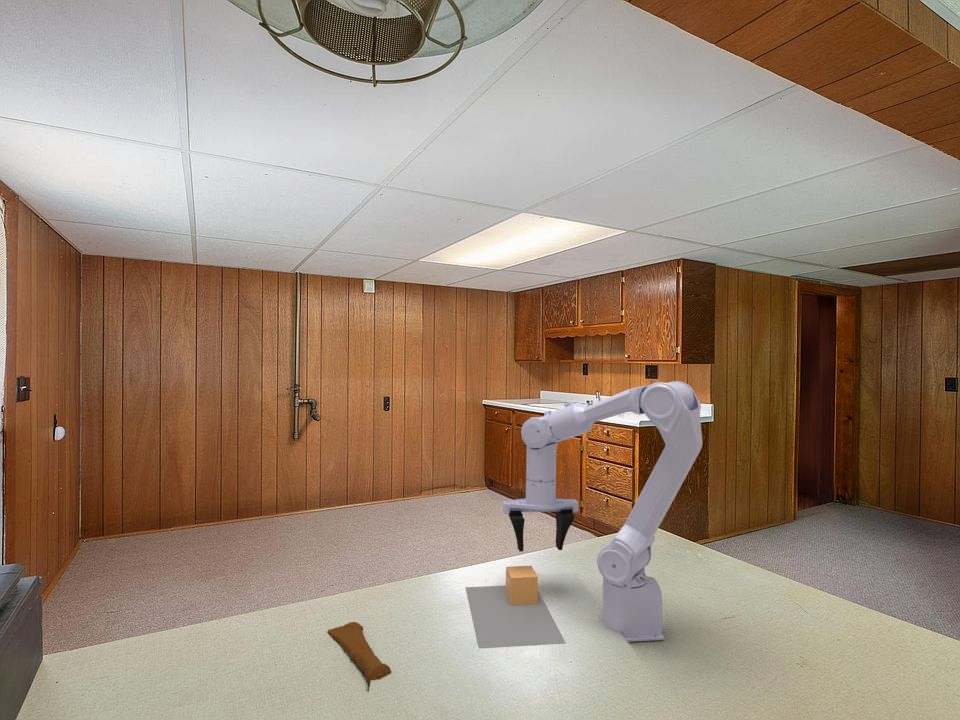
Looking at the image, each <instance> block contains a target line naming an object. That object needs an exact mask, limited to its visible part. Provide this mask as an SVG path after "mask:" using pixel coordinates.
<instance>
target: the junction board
mask: <svg viewBox="0 0 960 720" xmlns="http://www.w3.org/2000/svg"><path fill="white" fill-rule="evenodd" d="M539 591H540V590H538V599H537V604H525V605H510V602H509V600H508V597H507V595H506V585H489V586H486V585H485V586H465V592H466V596H467V597H466V598H467V601H468V605H469V610H470V615H471V619H472V624H473V629H474V632H475V638H476V642H477V647H478V649H493V648H509V647H510V648H511V647H527V646H530V647H531V646H541V645H560V644H567V643H566V641H565V639H564V637H563V635H562V633H561V631H560V629H559V627H558V625H557V623H556V622H555V620H554V618H553V616H552V614H551V612H550V610H549V608H548V606H547V604H546V603H545V601H544V599H543V596H542V595H541V593H540V592H539Z"/></svg>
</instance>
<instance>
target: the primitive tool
mask: <svg viewBox="0 0 960 720" xmlns="http://www.w3.org/2000/svg"><path fill="white" fill-rule="evenodd" d="M363 631H364V626H362V625H361V624H360V623H359V622H356V621H350V622H348V623H345V624H344V625H342V626H341V625H340V626H337V627H334V628H331V629H327V634H328V635H329V636H330V638H331V639H333V640H334V642H335V643H337V644H338V645H339V646H340V647H341V648H342V649H343V651H345V653H347V655H348V656H349V658H351V659H352V661H354V663H355V664H357V666H358V667H359V668H360V669H361V670H362V672H363V673H364V674H365V676H366V677H367V680H366V682H367V687H368V688H369V689H370V688H371V687H370V686H371V681H376V680H381V679H383V678H384V677H387V676H389V675H390V674H392V669H391V667H390V666H389V665H387V664H386V663H383V662H381V660H380V659H379V657H378V656H377V655H375V653H374V652H373V650H372V647H370V645H369V643H368V641H367V639H366V637H365V635H364V632H363Z"/></svg>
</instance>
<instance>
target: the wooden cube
mask: <svg viewBox="0 0 960 720" xmlns="http://www.w3.org/2000/svg"><path fill="white" fill-rule="evenodd" d="M538 580H539V576H538V575H537V573H536V571H535V569H534V567H533V566H532V565H515V566H505V586H506V595H507V597H508V600H509V602H510V605H525V604H537V599H538V591H539V588H538V587H539V586H538V585H539V581H538Z"/></svg>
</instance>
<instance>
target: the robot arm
mask: <svg viewBox="0 0 960 720" xmlns="http://www.w3.org/2000/svg"><path fill="white" fill-rule="evenodd" d="M701 409H702V404H701V402H700V400H699V398H698V397H697V395H696V393H695V391H694V389H693V388H692V386H690V385H689V384H687V383H686V382H683V381H681V380H674V381H670V382H659V381H658V382H654V383H651V384H649V385H642V386H638V387H632V388H629V389H626V390H624V391H621V392H619V393H617V394H614V395H612V396H609V397H607V398H604V399H602V400H599V401H597V402H594V403H591V404H589V405H585V404H583V403H581V402H574V401H568V402H565V403H564V407H562V408H561V407H560V408H559V409H557V410H552V411H551V410H547V411H544V412H543V414H544V415H543V416H531V417H530V418H528V419H527V420H526V421H524V423H523V424H522V426H521V430H520V435H521V439H522V441H523V443H524V444H525V445H526V464H525V465H526V469H525V470H526V471H525V475H526V477H525V498H520V499H519V498H518V499H512V500H502V512H503V514H504V515H505V514H506V515H508V517H509V520H510V522H511V525H512V527H513V531H514V536H515V538H516V546H517V547H516V548H517V549H518V551H519V552H520V553H521V552H524V530H525V529H524V528H525V520H526V519H525V518H524V514H523V513H542V512H543V513H544V512H545V513H546V512H554V513H555V525H556V527H555V528H556V529H555V530H556V531H555V547H556V548H557V550H558V551H563V547H564V544H565V539H566V537H567V534H568V533H569V529H570V527H571V526H572V524H573V522H574V520H575V513H578V512H579V501H577V500H576V499H575V498H573V499H571V498H570V499H568V498H556V491H557V490H556V489H557V487H556V486H557V451H558V450H557V449H558V448H557V447H558V444H559V442H562V441H566V440H568V439H572V438H574V437H578V436H582V435H583V434H586V433H589V432H590V431H591V429H592V427H593V425H594V423H596V422H599V421H603V420H606V419H609V418H613V417H615V416H618V415H619V416H620V415H622V414H624V413H625V414H626V413H629V412H631V413H633V414H636V415H645V416H646V417H647V418H648V420H649V421H650V422H651V423H652V424H653V425H654V426H655V428H657V430H659V433H660V435H661V437H662V440H663V442H664V448H663V450H662V452H661V454H660V456H659V458H658V459H657V461H656V464H655V465H654V466H653V469H652V471H651V473H650V475H649V477H648V479H647V481H646V482H645V484H644V486H643V488H642V490H641V491H640V494H639V496H638V497H637V499H636V502H635V503H634V506H633V508H632V509H631V511H630V513H629V515H628V517H627V519H626V520H625V523H624V525H623V526H622V527H621V528H620V529H619V531H618V532H617V533H616V534H615V536H614V537H613V539H612V541H611V542H610V543H609V544H608V545H607V546H605V547H603V548H602V549H601V550H600V551H599V553H598V555H597V561H596V562H597V563H596V564H597V569H598V571H599V573H600V574H601V576H602V610H601V611H602V614H601V615H602V622H603V624H605V625H606V627H608V628H609V629H612V630H614V631H617V632H619V633H620V634H621V635H622V637H623V638H624V639H625V641H626V642H628V643H629V642H630V643H632V642H646V641H647V642H648V641H649V642H650V641H663V640H665V636H664V634H663V596H662V589H661V587H660V584H659V582H658V581H657V580H656V578H655V577H653V576H648V575H647V574H646V570H645V568H646V567H647V566H648V565H649V564H650V562H651V560H652V548H653V544H654V542H655V540H656V537H655V535H656V533H657V531H658V529H659V528H660V525H661V524H662V522H663V521H664V518H665V517H666V514H667V512H668V511H669V509H670V507H671V505H672V503H673V502H674V500H675V498H676V496H677V495H678V492H679V491H680V489H681V487H682V485H683V483H684V481H685V480H686V478H687V475H688V474H689V473H690V471H691V469H692V467H693V465H694V463H695V461H696V459H697V457H698V456H699V454H700V452H701V450H702V448H703V434H702V423H701Z"/></svg>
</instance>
